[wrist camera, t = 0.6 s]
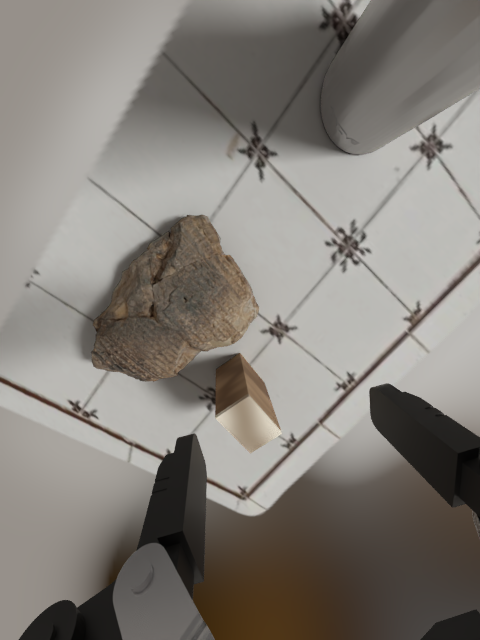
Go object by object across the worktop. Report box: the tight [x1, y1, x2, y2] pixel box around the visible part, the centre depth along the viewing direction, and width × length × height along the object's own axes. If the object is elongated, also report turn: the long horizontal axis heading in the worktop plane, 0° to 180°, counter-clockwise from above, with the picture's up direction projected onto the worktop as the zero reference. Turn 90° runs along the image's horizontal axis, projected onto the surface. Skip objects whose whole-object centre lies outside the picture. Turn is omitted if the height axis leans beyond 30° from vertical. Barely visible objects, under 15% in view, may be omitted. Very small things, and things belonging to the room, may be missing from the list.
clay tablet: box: [91, 215, 259, 381], centre depth 25 cm, size 14×5×20 cm
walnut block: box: [215, 353, 282, 453], centre depth 26 cm, size 4×6×9 cm, turn 36°
